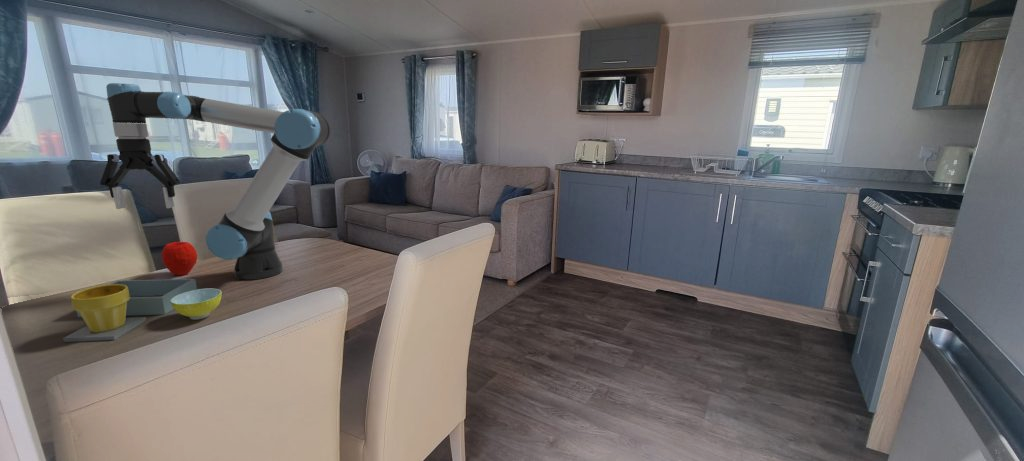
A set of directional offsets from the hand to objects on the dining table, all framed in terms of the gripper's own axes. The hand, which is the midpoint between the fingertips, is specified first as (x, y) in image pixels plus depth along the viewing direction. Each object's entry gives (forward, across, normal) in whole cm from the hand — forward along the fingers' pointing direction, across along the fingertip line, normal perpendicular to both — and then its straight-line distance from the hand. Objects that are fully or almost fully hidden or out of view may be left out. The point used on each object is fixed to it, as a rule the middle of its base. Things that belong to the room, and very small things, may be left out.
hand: (145, 207), depth 130 cm
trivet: (+26, -5, +31) cm, 41 cm away
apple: (+27, +1, -14) cm, 30 cm away
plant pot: (+26, -6, +31) cm, 41 cm away
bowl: (+27, -24, +25) cm, 43 cm away
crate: (+26, -3, +14) cm, 30 cm away
